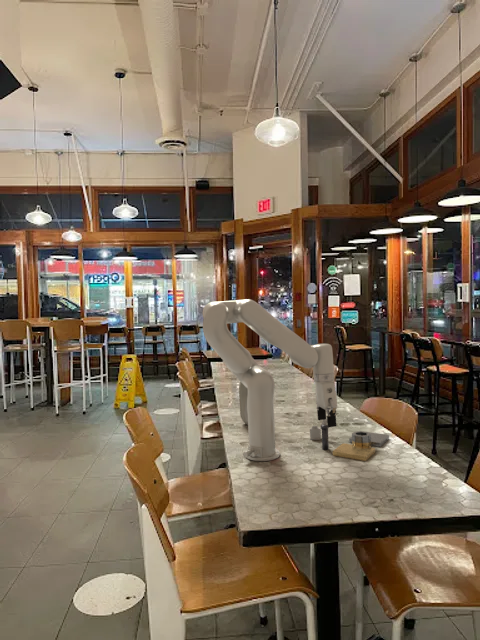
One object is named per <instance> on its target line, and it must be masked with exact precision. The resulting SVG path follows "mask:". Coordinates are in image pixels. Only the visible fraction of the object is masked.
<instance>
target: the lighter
mask: <svg viewBox="0 0 480 640" xmlns="http://www.w3.org/2000/svg"><path fill="white" fill-rule="evenodd" d="M323 424H326V425H327V418H326V420H322V422H321V424H320V426H319V427H318V425H312V426H311V427H309V440H310V441H311V440H312V441H314V440H315V441H316V440H321V441H322V428H321V425H323Z"/></svg>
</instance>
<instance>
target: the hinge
mask: <svg viewBox="0 0 480 640" xmlns="http://www.w3.org/2000/svg"><path fill="white" fill-rule="evenodd" d="M348 439H349V441H348V443H341V444H339V446H337V447H336V448H335V449H333V450H332V456H333V457H334V456H335V457H340V458H346V459H352V460H357V461H363V462H367V461H368V460H369V459H370V458H371V457H372V456H373V455H374V454H375V453H376V448H375V447H378V448H381V447H382V446H384V445H385V444H386V443H387V441H389V439H390V434H386V433H385V434H384V433H376V432H368V431H363V430H358V431H354V432H352V433H351V436H350V437H349V438H348Z"/></svg>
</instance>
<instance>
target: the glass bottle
mask: <svg viewBox="0 0 480 640" xmlns="http://www.w3.org/2000/svg"><path fill="white" fill-rule="evenodd" d="M247 398H248V389H247V388H246V387H245V386H244V385H243V384H242V383H241V381H240V380H239V387H238V399H239V416H240V419H241V420H242V422H243V423H244V424H245V425H248V412H247Z"/></svg>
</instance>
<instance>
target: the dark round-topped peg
mask: <svg viewBox="0 0 480 640" xmlns="http://www.w3.org/2000/svg"><path fill="white" fill-rule="evenodd" d="M320 427H321V428H322V429H321V449H322V450H323V451H329V449H330V447H329V446H330V445H329V444H330V443H329V428H330V427H328V426H327V424H323V425H321V424H320Z"/></svg>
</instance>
